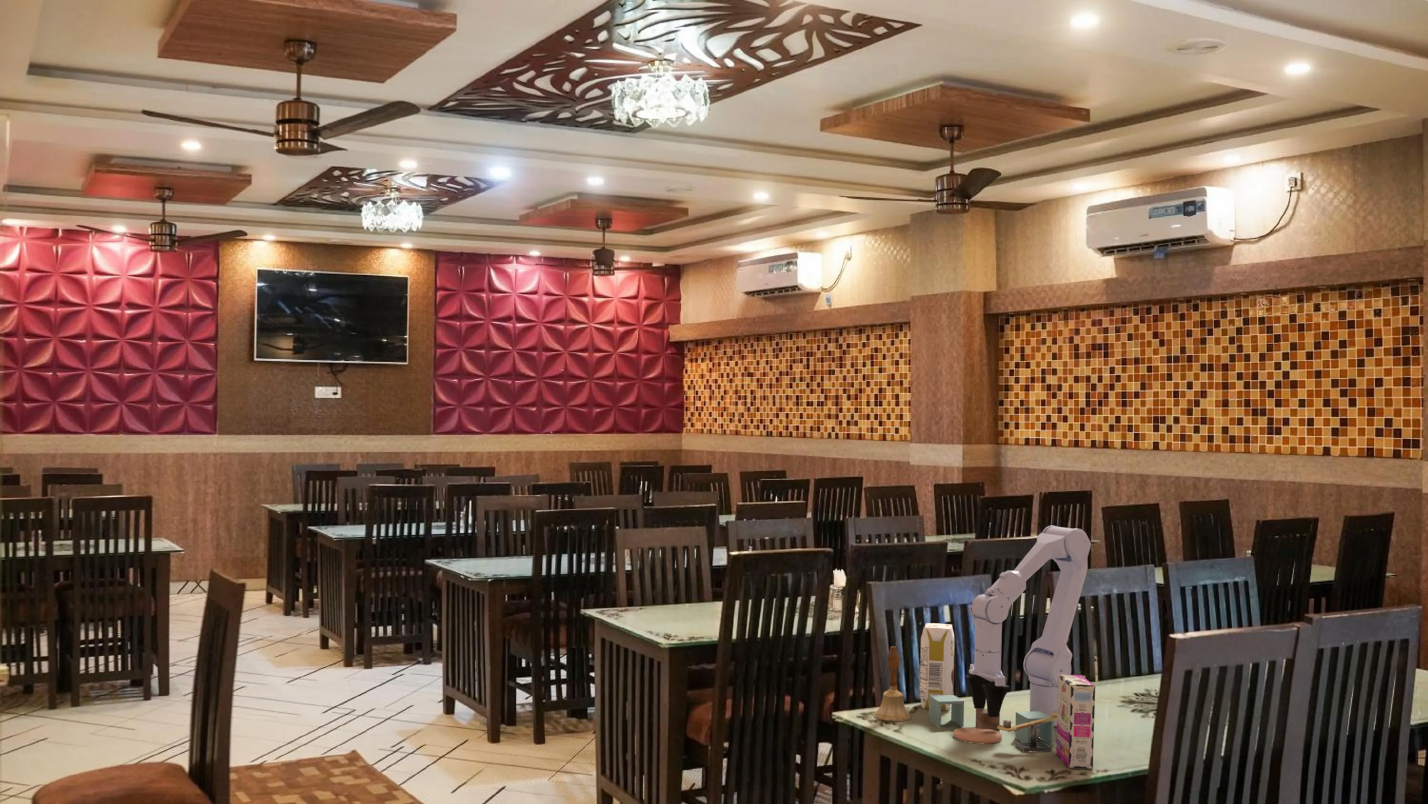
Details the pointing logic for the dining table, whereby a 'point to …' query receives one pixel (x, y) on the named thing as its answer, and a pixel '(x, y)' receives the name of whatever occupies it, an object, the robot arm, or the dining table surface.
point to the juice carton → (936, 662)
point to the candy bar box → (1075, 721)
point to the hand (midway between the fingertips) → (986, 712)
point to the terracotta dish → (977, 735)
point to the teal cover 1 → (956, 708)
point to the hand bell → (892, 694)
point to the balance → (1033, 733)
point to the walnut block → (986, 720)
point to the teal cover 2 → (1044, 729)
